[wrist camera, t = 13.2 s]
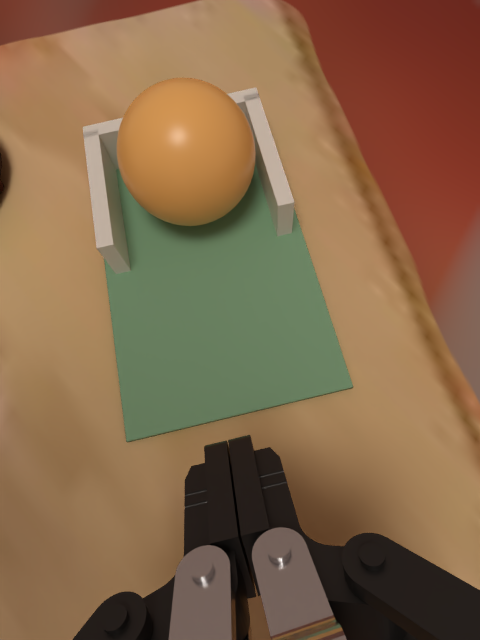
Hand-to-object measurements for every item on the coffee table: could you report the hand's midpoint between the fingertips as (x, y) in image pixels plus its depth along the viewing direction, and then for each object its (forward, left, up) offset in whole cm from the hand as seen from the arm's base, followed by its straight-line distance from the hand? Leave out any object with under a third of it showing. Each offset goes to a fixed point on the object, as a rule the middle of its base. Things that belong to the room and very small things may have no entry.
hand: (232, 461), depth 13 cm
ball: (+22, -1, -10) cm, 24 cm away
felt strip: (+17, 0, -15) cm, 23 cm away
